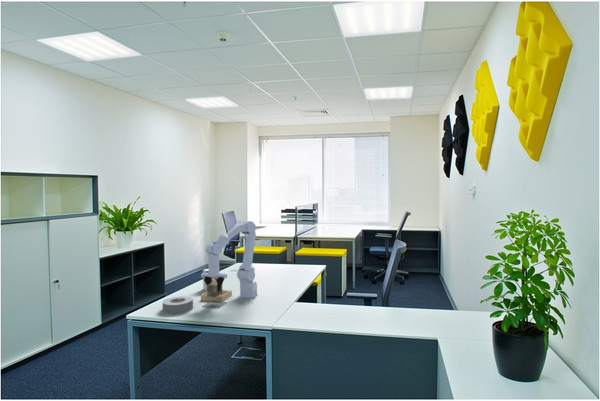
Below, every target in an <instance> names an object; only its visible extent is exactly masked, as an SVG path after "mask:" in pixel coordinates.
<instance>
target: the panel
mask: <svg viewBox="0 0 600 401" xmlns="http://www.w3.org/2000/svg"><path fill="white" fill-rule="evenodd" d="M227 303H228V302H227V301H223V302H216V301H208V302H207V303H205V304H204V305H202V306H201V307H202V308H211V309H220V308H221V307H223V306H224V305H227Z"/></svg>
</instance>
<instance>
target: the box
mask: <svg viewBox="0 0 600 401" xmlns="http://www.w3.org/2000/svg"><path fill="white" fill-rule="evenodd" d="M222 290H223V285H222V286H221V291H219V292H218V289H217V282H213V283H211V284H209V285H207V291H206V292H207V297H217V296H219V295H220V294H222Z"/></svg>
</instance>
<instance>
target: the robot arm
mask: <svg viewBox="0 0 600 401" xmlns="http://www.w3.org/2000/svg"><path fill="white" fill-rule="evenodd" d="M256 227H257V226H256V224H255V222H254V221H252V220H248V221H247V220H238V221H237V223H235V225H234V226H233V227H232V228H231V229H230V230H229V231H228V232H227V233H226V234H221V235H219V237H218V238H217V239H215V240H213V242H212V243H209V244H207V246H206V248H205V253H206V254H207V263H208V266H207V267H208V268H207V269H209V273H203V272H202V273H201V274H200V278H203V277H205V278H204V281H205V283H206V285H209V284H211V281H212V278H218V279H216V281H217V289H218V292H219V291H221V286H222V287H223V284H224V281H225V279H227V278H228V274H227V273H220V254H221V252H222V249H224V248H225V247H226V246H228V244H230V240H231V239H232V238H233V237H235V236H236V235H237V234H240V233H242V234H243V235H244V237H245V242H244V249H243V250H244V251H243V257H242V264H241V265H240V266H239V267H238V268H239V269H238V271H237V272H236V277H237V279H238V280H239V295H238V296H237V298H240V299H241V298H243V299H244V298H246V299H254V298H256V297H257V296H258V284H257V281H254V280H255V277H256V273H255V270H256V269H255V267H254V266H253V258H254V253H255V252H254V251H255V244H256V238H257V236H256V235H257V233H256Z"/></svg>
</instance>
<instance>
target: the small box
mask: <svg viewBox="0 0 600 401" xmlns="http://www.w3.org/2000/svg"><path fill="white" fill-rule="evenodd" d="M202 273H209V269H208V268H205V269H204V268H203V269H202ZM204 278H205V277H202V286H203V291H205V292H207V285H206V283H205V281H204ZM216 279H218V278H212V281H211V283H213V282H217V281H216Z"/></svg>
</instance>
